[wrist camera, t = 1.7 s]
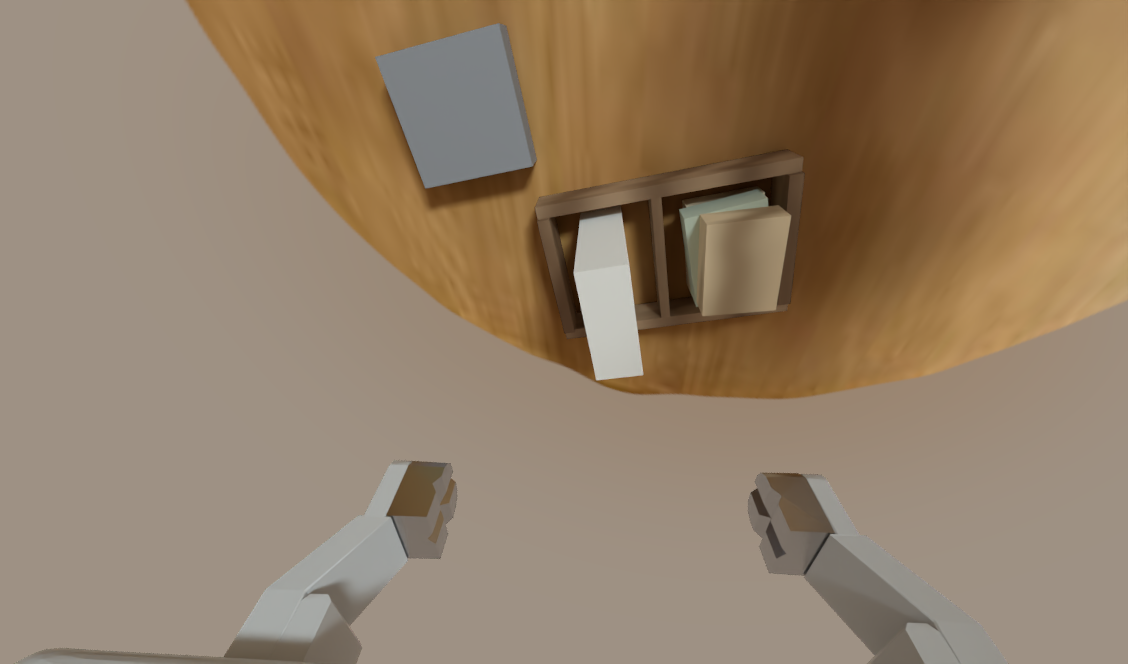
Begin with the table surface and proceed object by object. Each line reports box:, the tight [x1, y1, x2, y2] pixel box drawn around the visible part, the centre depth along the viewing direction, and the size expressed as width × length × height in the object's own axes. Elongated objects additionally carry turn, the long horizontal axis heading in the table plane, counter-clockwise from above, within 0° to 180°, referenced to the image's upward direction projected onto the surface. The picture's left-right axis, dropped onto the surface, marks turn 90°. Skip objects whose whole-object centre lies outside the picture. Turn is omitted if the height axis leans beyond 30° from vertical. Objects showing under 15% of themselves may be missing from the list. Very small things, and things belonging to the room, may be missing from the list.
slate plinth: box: [375, 23, 537, 189], centre depth 31 cm, size 9×9×2 cm
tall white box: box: [574, 206, 643, 380], centre depth 33 cm, size 4×9×12 cm, turn 12°
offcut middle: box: [679, 189, 768, 307], centre depth 33 cm, size 6×8×2 cm
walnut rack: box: [535, 149, 805, 339], centre depth 35 cm, size 20×13×4 cm, turn 102°
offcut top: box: [696, 205, 791, 316], centre depth 31 cm, size 6×8×2 cm
